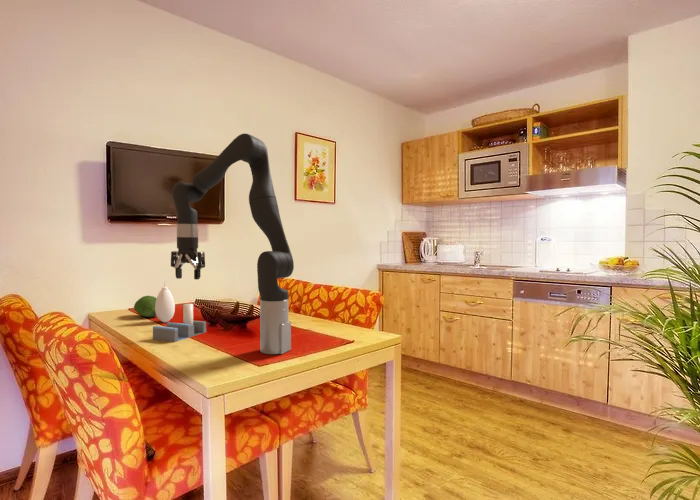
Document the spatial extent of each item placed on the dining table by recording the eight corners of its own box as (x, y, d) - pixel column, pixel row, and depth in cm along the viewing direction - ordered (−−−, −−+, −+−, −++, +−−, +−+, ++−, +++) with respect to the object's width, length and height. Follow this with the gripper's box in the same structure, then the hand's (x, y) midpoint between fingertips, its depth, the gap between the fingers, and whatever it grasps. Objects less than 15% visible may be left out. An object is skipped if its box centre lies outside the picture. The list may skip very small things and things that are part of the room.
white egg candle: (178, 321, 177) (177, 281, 176) (160, 324, 171) (159, 282, 170) (169, 319, 182) (169, 280, 181) (152, 322, 176) (151, 281, 175)
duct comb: (206, 334, 154) (206, 320, 154) (174, 344, 139) (174, 328, 139) (185, 332, 158) (185, 318, 158) (152, 342, 143) (152, 326, 143)
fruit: (128, 316, 188) (128, 295, 188) (149, 313, 196) (149, 293, 196) (144, 320, 179) (144, 298, 179) (165, 316, 187) (165, 295, 187)
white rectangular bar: (195, 332, 153) (195, 304, 153) (188, 334, 150) (188, 305, 150) (188, 331, 154) (187, 303, 154) (181, 333, 151) (181, 304, 151)
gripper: (209, 236, 152) (209, 278, 152) (180, 236, 157) (180, 277, 157) (195, 236, 145) (195, 280, 145) (165, 236, 150) (165, 279, 150)
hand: (187, 278), depth 151 cm, fingers open, 8 cm apart
